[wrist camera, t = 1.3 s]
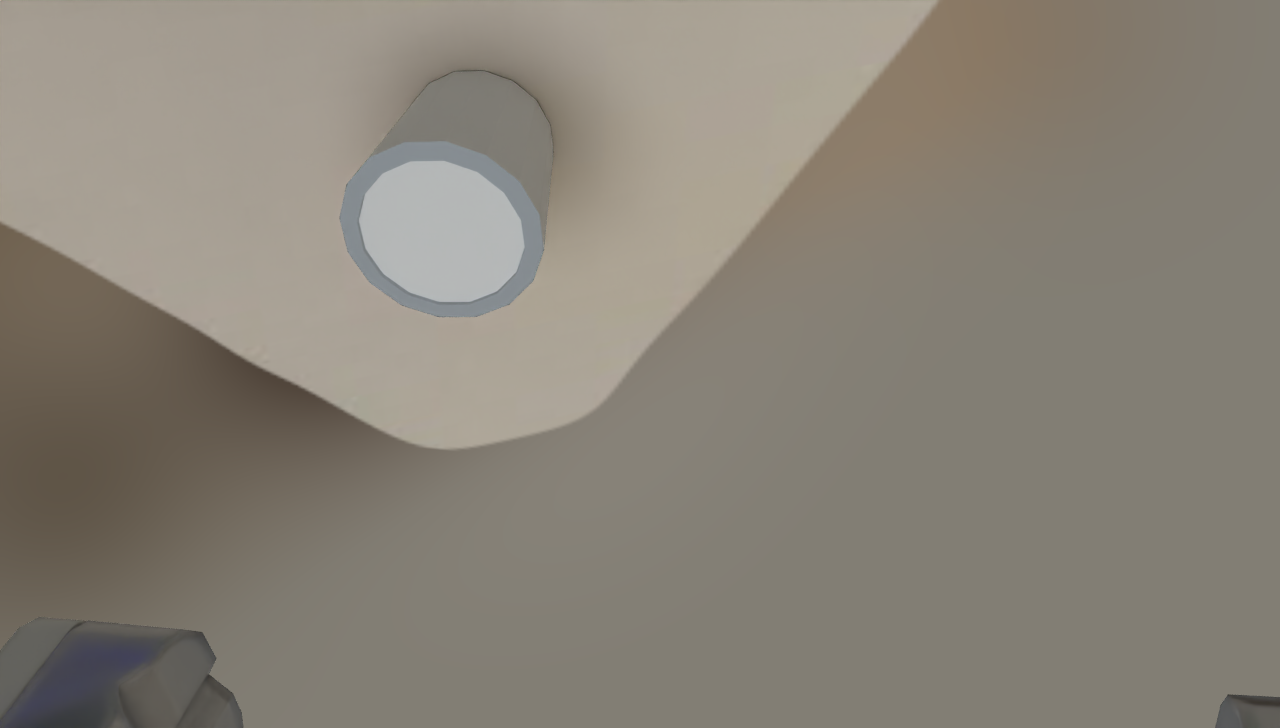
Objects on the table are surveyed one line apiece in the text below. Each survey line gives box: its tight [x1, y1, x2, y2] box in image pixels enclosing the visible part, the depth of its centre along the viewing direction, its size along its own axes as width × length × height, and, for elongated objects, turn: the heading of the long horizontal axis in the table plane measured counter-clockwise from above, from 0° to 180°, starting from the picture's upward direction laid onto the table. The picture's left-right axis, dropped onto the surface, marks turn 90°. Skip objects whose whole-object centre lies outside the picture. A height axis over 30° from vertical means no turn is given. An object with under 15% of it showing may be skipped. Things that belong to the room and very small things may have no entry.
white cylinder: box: [340, 71, 554, 317], centre depth 43 cm, size 7×7×7 cm
